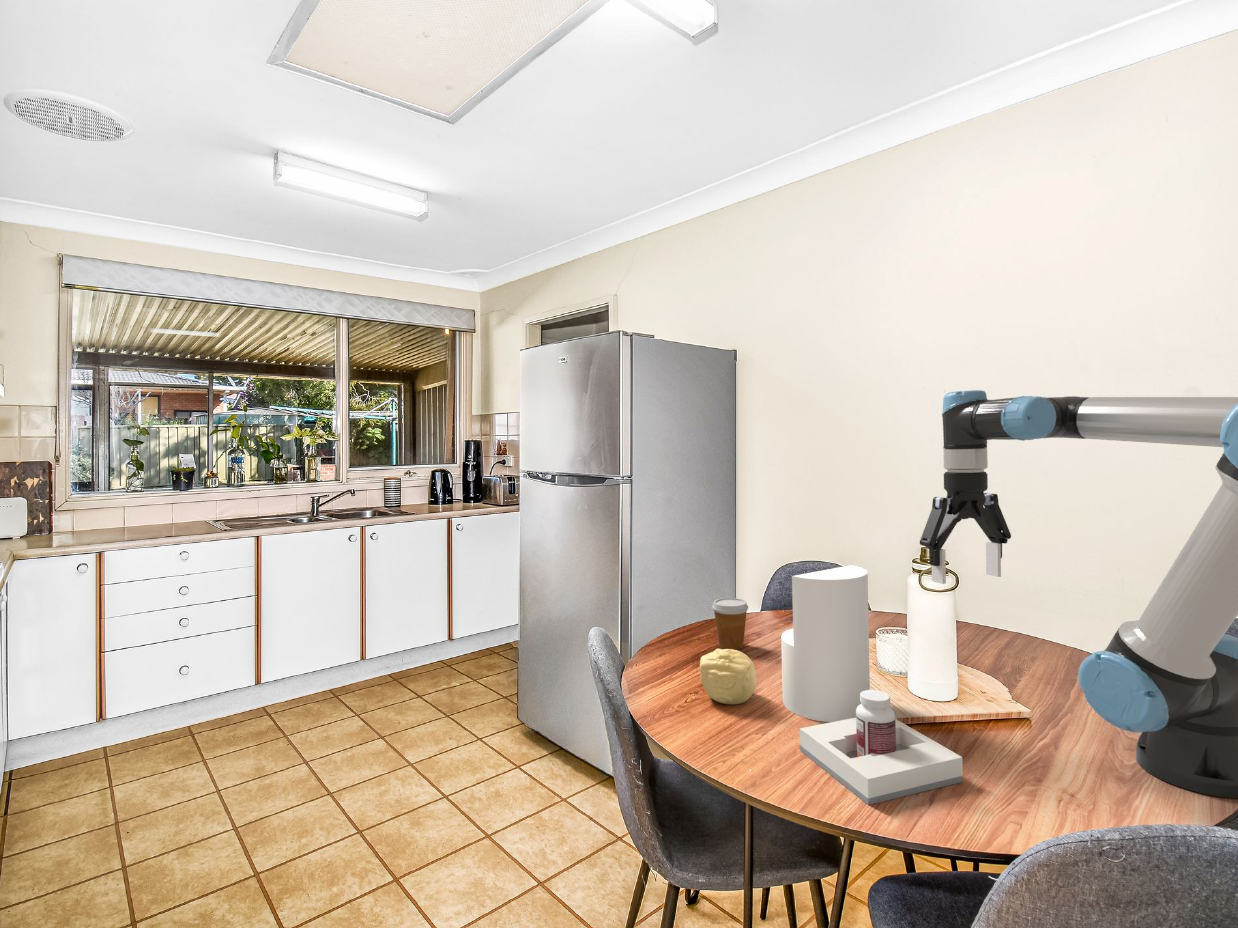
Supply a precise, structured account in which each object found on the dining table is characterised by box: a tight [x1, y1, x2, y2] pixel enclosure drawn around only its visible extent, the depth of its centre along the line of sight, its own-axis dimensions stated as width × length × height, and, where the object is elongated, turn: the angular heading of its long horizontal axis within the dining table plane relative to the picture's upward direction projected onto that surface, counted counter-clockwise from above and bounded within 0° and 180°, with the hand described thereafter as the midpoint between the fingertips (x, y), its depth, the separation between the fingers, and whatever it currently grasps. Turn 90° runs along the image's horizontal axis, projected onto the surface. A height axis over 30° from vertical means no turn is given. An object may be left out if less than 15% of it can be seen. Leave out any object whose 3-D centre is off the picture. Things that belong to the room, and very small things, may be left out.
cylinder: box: [780, 564, 871, 723], centre depth 132 cm, size 17×17×28 cm
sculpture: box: [699, 648, 758, 705], centre depth 137 cm, size 12×12×11 cm
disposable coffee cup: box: [712, 597, 749, 651], centre depth 170 cm, size 10×10×12 cm
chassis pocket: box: [799, 718, 964, 806], centre depth 107 cm, size 18×18×4 cm
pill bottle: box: [856, 689, 896, 757], centre depth 107 cm, size 6×6×11 cm
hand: (966, 578), depth 125 cm, fingers open, 13 cm apart
